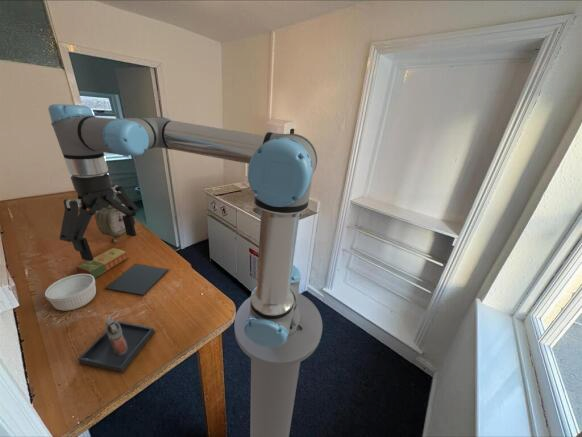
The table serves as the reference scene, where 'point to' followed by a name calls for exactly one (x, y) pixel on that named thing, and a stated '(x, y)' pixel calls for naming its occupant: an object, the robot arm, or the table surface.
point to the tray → (105, 355)
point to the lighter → (116, 336)
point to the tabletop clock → (110, 221)
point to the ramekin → (71, 292)
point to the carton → (102, 262)
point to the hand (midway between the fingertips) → (111, 246)
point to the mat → (137, 279)
